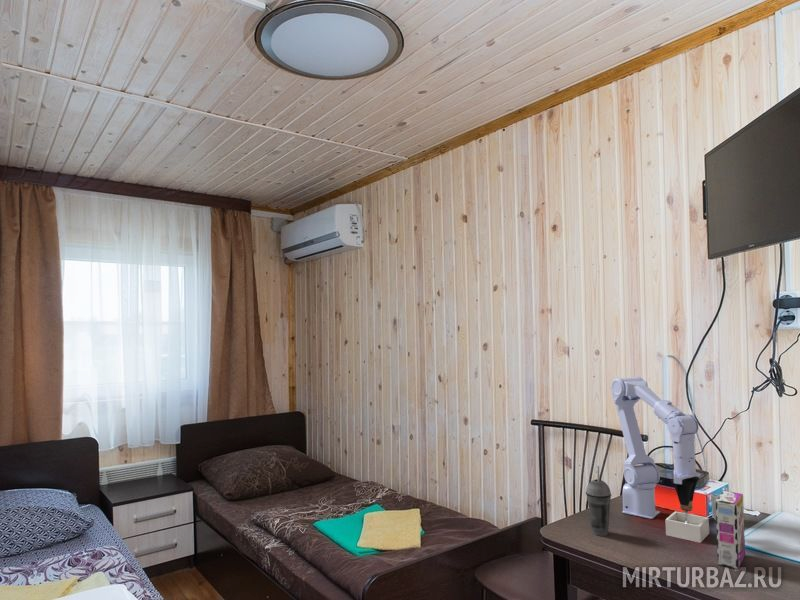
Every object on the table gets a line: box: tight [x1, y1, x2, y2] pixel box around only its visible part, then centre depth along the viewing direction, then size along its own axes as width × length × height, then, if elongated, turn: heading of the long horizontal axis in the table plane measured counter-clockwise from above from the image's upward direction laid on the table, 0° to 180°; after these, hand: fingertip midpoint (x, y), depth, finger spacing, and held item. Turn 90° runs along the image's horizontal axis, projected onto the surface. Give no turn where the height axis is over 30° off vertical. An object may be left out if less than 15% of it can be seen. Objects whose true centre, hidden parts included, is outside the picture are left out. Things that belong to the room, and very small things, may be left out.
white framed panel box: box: [664, 511, 710, 544], centre depth 164 cm, size 9×11×4 cm
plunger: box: [678, 500, 697, 525], centre depth 163 cm, size 7×7×8 cm
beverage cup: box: [585, 465, 612, 537], centre depth 166 cm, size 7×7×20 cm
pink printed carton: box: [715, 490, 746, 570], centre depth 145 cm, size 11×5×16 cm, turn 141°
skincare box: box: [710, 494, 721, 521], centre depth 173 cm, size 6×6×7 cm
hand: (686, 503), depth 164 cm, fingers closed on plunger, 3 cm apart
